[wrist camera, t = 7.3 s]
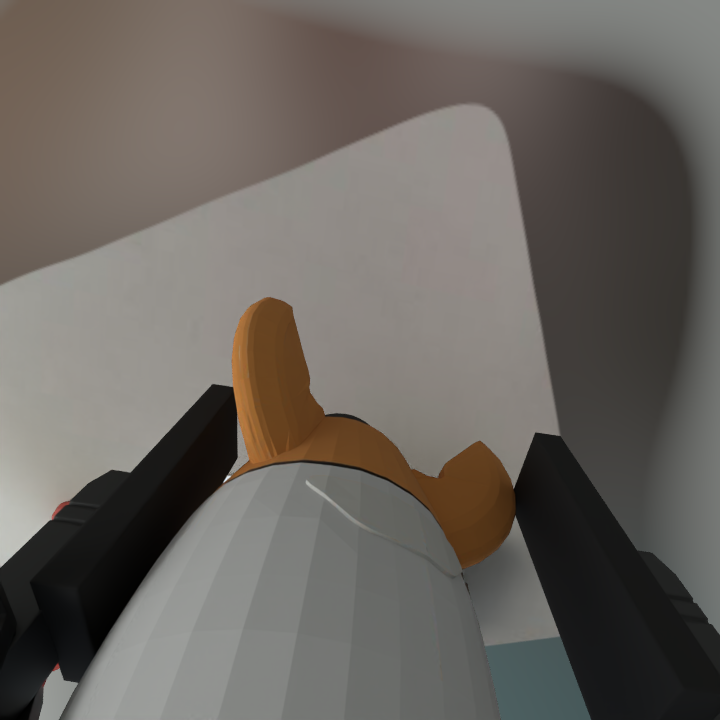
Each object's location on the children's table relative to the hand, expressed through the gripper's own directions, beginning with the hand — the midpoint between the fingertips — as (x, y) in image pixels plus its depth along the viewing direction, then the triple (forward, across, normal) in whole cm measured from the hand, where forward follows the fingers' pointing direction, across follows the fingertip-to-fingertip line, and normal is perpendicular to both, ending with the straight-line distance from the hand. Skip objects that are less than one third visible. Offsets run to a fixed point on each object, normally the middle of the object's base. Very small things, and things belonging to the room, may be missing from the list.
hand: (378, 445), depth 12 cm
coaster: (+19, -14, -25) cm, 35 cm away
